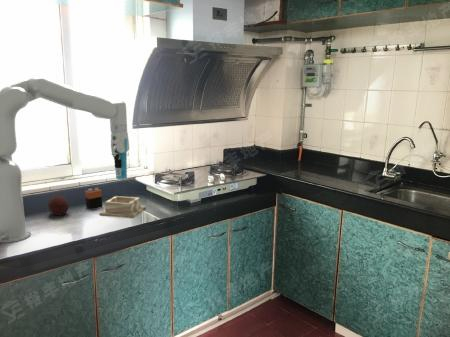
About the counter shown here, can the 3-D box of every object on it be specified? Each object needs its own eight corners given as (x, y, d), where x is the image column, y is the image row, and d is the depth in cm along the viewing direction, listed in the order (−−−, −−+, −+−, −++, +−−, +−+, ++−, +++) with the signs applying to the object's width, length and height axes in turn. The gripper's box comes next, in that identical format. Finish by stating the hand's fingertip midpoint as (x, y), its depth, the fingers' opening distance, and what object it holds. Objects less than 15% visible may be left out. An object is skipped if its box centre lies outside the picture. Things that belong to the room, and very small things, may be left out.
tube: (130, 177, 186) (128, 137, 182) (128, 179, 181) (126, 138, 177) (114, 177, 185) (112, 137, 181) (112, 179, 180) (110, 139, 177)
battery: (86, 208, 192) (84, 188, 190) (98, 205, 197) (97, 186, 195) (90, 210, 189) (88, 190, 187) (102, 207, 194) (101, 188, 192)
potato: (52, 219, 175) (51, 200, 173) (46, 213, 184) (44, 194, 182) (72, 215, 180) (70, 197, 178) (64, 209, 190) (63, 191, 188)
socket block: (133, 217, 178) (132, 205, 177) (99, 215, 181) (98, 203, 180) (145, 208, 192) (145, 196, 191) (114, 206, 196) (113, 194, 194)
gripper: (117, 130, 169) (120, 170, 173) (133, 126, 186) (135, 163, 189) (102, 130, 171) (104, 170, 175) (119, 126, 187) (121, 163, 191)
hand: (120, 166), depth 182 cm, fingers closed on tube, 4 cm apart
